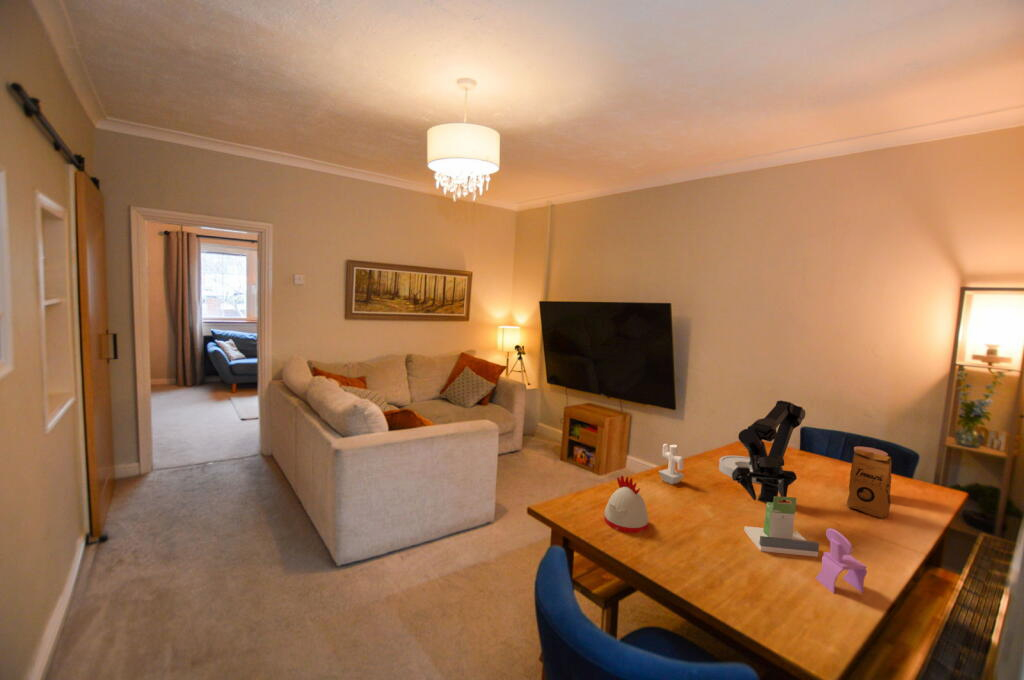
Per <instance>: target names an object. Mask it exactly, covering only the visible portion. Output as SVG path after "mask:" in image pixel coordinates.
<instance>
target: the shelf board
mask: <svg viewBox="0 0 1024 680" xmlns="http://www.w3.org/2000/svg"><path fill="white" fill-rule="evenodd" d="M763 529H764V527H757V526H756V527H755V526H747V525H745V526H744V530H743V531H744V532H745V533H746V534H747V536H748V537H749V538H750V539H749V540H751V541H752V542H753V544H754V545H755V546H756V547H757V548H758V550H759V551H760V552H766V553H778V554H787V555H794V556H795V555H796V556H797V555H798V556H804V557H805V556H807V557H816V558H817V557H818V556H819V550H820V549H819V548H820V543H819V541H814V540H806V538H805V537H804V536H802V534H800V532H798V531H797V530H793V536H792V539H785V538H775V537H768V536H767V535H766V534H765V533H764V532H763Z"/></svg>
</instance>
